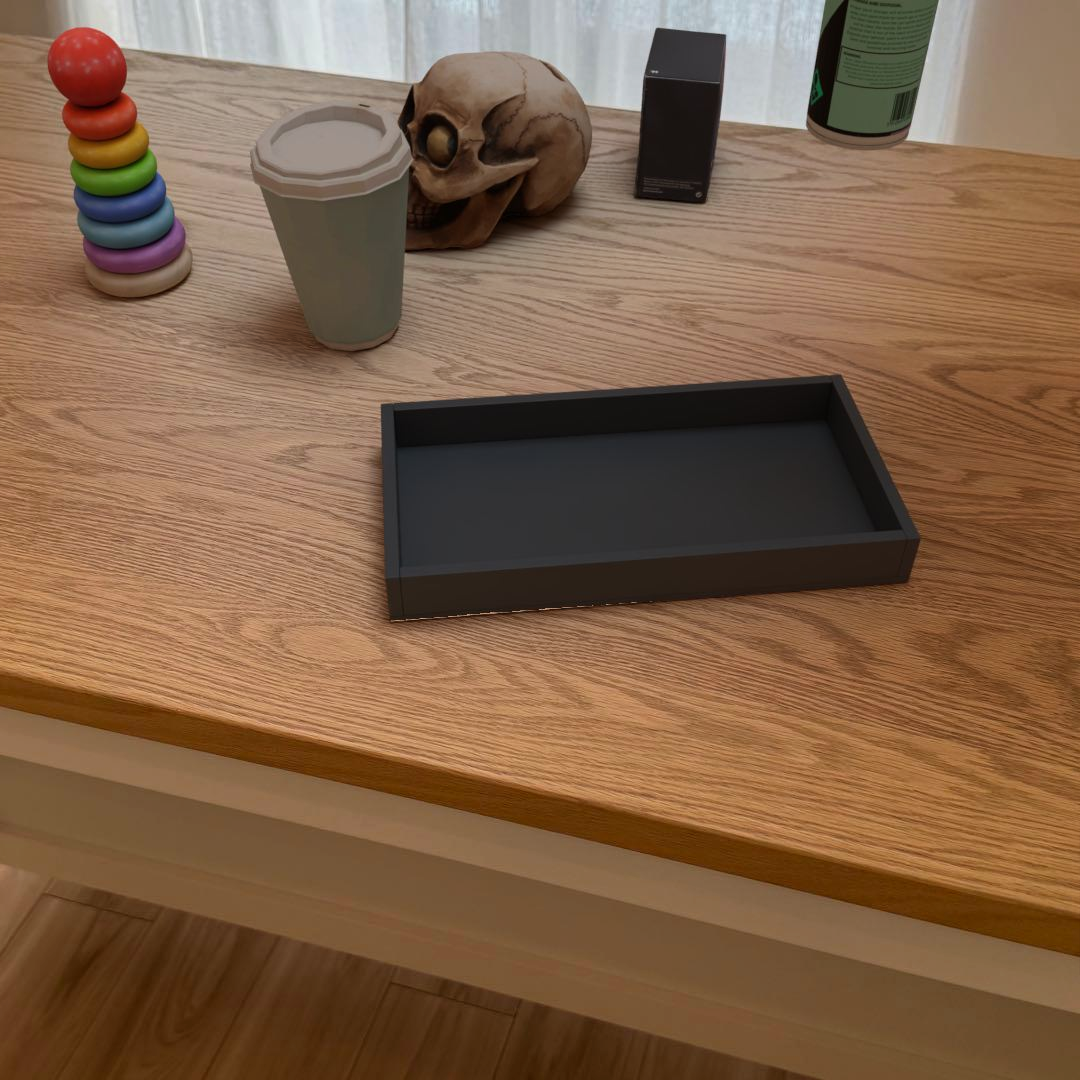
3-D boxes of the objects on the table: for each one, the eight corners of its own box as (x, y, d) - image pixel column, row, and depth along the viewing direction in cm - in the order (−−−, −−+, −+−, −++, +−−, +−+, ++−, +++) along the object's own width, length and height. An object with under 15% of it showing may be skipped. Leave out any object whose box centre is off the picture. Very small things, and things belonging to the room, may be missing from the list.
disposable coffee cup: (370, 385, 85) (347, 182, 75) (246, 342, 89) (207, 143, 78) (452, 311, 92) (442, 115, 81) (334, 274, 95) (309, 82, 85)
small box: (710, 205, 103) (723, 81, 96) (632, 199, 104) (639, 76, 97) (717, 148, 111) (730, 30, 104) (644, 143, 112) (652, 25, 105)
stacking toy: (77, 262, 97) (7, 18, 84) (178, 238, 99) (125, -2, 86) (102, 312, 92) (31, 60, 79) (207, 285, 94) (156, 37, 81)
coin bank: (338, 235, 99) (335, 65, 91) (446, 167, 112) (452, 13, 103) (511, 289, 95) (525, 115, 86) (604, 212, 107) (623, 54, 99)
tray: (832, 417, 82) (841, 373, 80) (908, 582, 71) (921, 538, 69) (385, 447, 80) (380, 403, 78) (390, 623, 69) (384, 578, 66)
